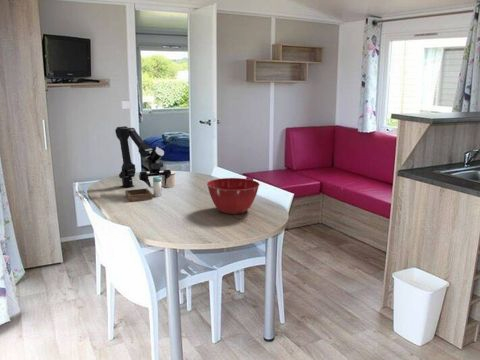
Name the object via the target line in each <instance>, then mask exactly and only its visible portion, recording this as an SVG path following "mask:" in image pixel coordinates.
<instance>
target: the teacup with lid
mask: <svg viewBox="0 0 480 360" xmlns="http://www.w3.org/2000/svg"><path fill="white" fill-rule="evenodd" d="M168 169H169V170H171V169H170V168H168ZM158 177H161V187H162V188H173V187H175V186H176V172H175V171H172V170H171V175H170V177H169V178H168V179H167V180H166V186H165V185H164V180H163V176H158Z"/></svg>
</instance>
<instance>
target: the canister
mask: <svg viewBox="0 0 480 360" xmlns="http://www.w3.org/2000/svg"><path fill="white" fill-rule="evenodd" d="M161 182H162V177H159V176H153V178H152V184H153V185H152V187H153V188H152V189H153V197H155V198H159V197H162V194H163V192H162V188H163V187H162V183H161Z"/></svg>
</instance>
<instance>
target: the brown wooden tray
mask: <svg viewBox="0 0 480 360" xmlns="http://www.w3.org/2000/svg"><path fill="white" fill-rule="evenodd" d="M124 193H125V197H126V199H127V200H128V201H129V202H130V203H133V202H140V201H149V200H153V193H152V191H150V190H149V189H148V188H137V189H128V190H124Z"/></svg>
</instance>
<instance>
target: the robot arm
mask: <svg viewBox="0 0 480 360" xmlns="http://www.w3.org/2000/svg"><path fill="white" fill-rule="evenodd" d="M114 132H115V135H116V138H117V140H118V141H119V144H120V149H121V157H122V165H121V171H120V173H119V174H118V177H119V179H121V182H122V183H121V184H122V185H120V187H121V188H126V189H129V188H132V187H135V185H134V184H133V178H134V177H135V174H136V170H137V169H136V165H135V163H133V162H132V158H131V153H130V145H129V141H128V140H129V138H130V139H131V140H132V141H133V144H135V146H136V147H137V148H138V154H139V155H140V157H142V158H146V159H145V161H144V163H147V166H148V171H149V172H147V171H144V170H143V171H140V172H139V174H138V179H139V180H140V181H142V182H144V183H145V184H146V185H147V186H148V187H149V188H150V189H151V187H152V186H151V182H150V179H149V177H159V176H163V180H164V185H165V186H166V180H167V179H168V178H169V177H170V175H171V171H172V170H171V169H170V168H166V169H163V171H161V168H163V167H164V162H163V161H160V160H161V158H162V157H163V156H164V155H165V151H164V150H163V149H161V148H159V147H158V146H155V147H154V148H152V147H151V146H150V145H148V143H145V141H144V140H143V139H142V137H141V136H140V135H139V133H138V132H137V131H136V128H135V127H128V126H127V125H126V126H117V127H116V128H115V131H114ZM157 161H159V162H157ZM169 169H170V170H169ZM160 171H161V172H160Z"/></svg>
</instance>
